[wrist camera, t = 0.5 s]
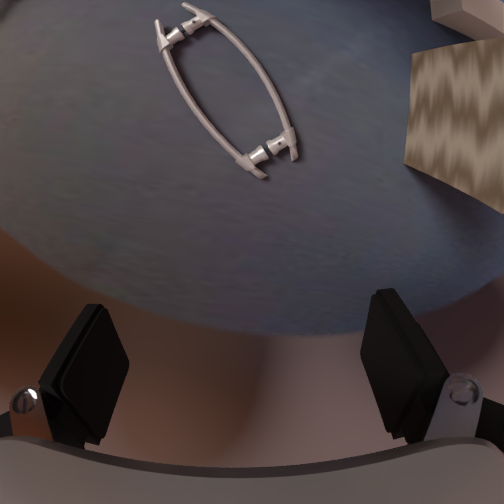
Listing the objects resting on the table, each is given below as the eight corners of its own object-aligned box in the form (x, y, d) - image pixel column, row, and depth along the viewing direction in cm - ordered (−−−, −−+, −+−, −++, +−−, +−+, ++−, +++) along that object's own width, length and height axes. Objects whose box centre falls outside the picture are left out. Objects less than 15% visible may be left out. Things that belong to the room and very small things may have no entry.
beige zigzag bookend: (411, 54, 29) (515, 36, 11) (496, 88, 30) (590, 103, 12) (403, 163, 36) (501, 213, 18) (486, 180, 37) (574, 229, 19)
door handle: (206, -4, 27) (312, 148, 36) (141, 38, 29) (246, 187, 38) (203, -12, 24) (316, 151, 34) (134, 33, 27) (245, 192, 36)
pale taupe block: (428, -12, 24) (457, -26, 16) (490, 20, 24) (520, 15, 17) (431, 20, 26) (462, 9, 19) (492, 50, 27) (525, 48, 19)
